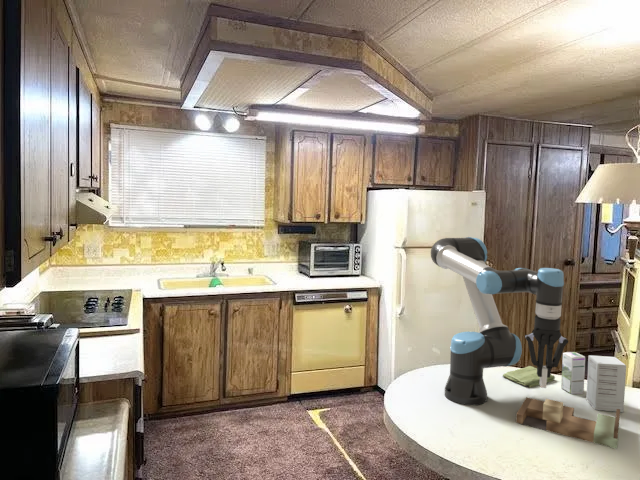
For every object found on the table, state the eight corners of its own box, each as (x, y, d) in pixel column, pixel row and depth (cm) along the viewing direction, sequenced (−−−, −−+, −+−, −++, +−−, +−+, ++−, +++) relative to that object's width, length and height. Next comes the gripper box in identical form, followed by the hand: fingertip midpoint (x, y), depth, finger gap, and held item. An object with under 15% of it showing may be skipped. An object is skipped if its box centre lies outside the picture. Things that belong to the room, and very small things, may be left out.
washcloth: (500, 378, 194) (500, 370, 193) (530, 371, 201) (530, 364, 201) (527, 389, 182) (527, 381, 182) (557, 382, 190) (558, 374, 190)
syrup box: (584, 393, 178) (586, 356, 176) (570, 394, 177) (572, 357, 175) (574, 387, 183) (576, 351, 182) (560, 388, 182) (562, 352, 181)
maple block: (542, 419, 150) (543, 403, 150) (545, 413, 154) (546, 398, 154) (559, 423, 147) (560, 408, 147) (562, 417, 151) (563, 402, 151)
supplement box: (624, 413, 162) (627, 365, 160) (595, 410, 163) (597, 363, 162) (613, 401, 171) (615, 356, 169) (585, 399, 173) (587, 354, 171)
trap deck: (516, 422, 154) (516, 405, 153) (525, 405, 167) (526, 389, 166) (616, 448, 138) (618, 429, 137) (619, 427, 151) (620, 409, 151)
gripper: (528, 317, 149) (523, 388, 152) (573, 321, 147) (567, 393, 149) (523, 311, 157) (519, 379, 159) (566, 314, 154) (560, 383, 157)
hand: (542, 386), depth 154 cm, fingers closed
